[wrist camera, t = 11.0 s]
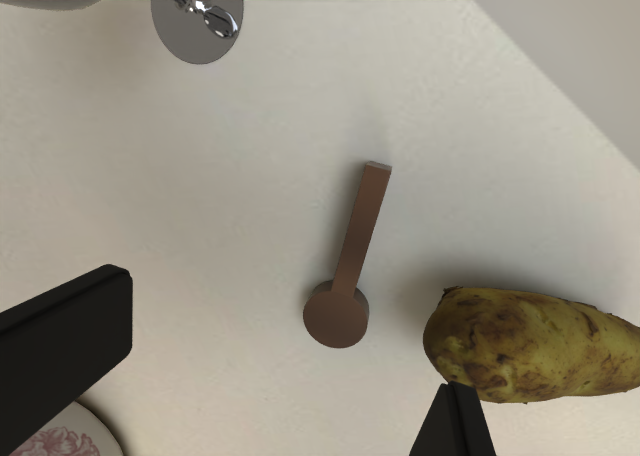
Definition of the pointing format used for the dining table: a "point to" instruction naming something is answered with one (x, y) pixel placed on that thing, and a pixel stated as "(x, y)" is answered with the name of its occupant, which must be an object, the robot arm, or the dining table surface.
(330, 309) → the wooden spoon
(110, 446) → the chamber pot
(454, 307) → the potato
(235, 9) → the wine glass
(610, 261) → the dining table surface
